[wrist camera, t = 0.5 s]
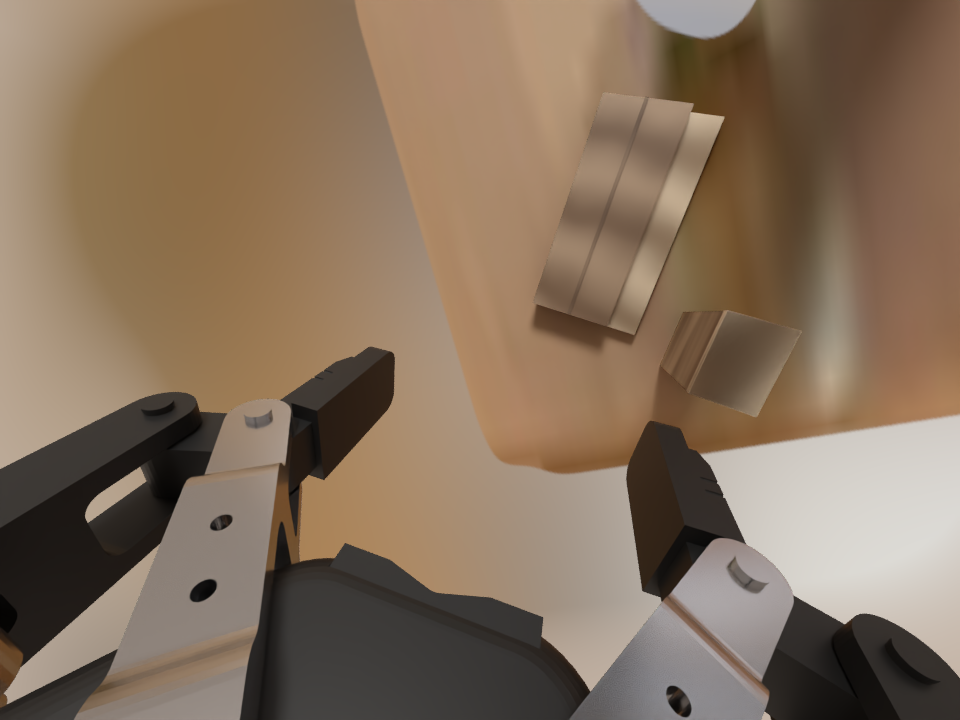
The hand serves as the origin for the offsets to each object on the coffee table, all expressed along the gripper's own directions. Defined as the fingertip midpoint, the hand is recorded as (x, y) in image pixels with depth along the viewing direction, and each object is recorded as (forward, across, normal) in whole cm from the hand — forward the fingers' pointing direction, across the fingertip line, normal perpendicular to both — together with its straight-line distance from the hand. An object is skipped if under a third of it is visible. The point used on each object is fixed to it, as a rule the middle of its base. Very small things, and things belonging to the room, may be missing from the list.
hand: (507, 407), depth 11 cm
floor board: (+27, -4, -4) cm, 27 cm away
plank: (+23, -13, +4) cm, 26 cm away
